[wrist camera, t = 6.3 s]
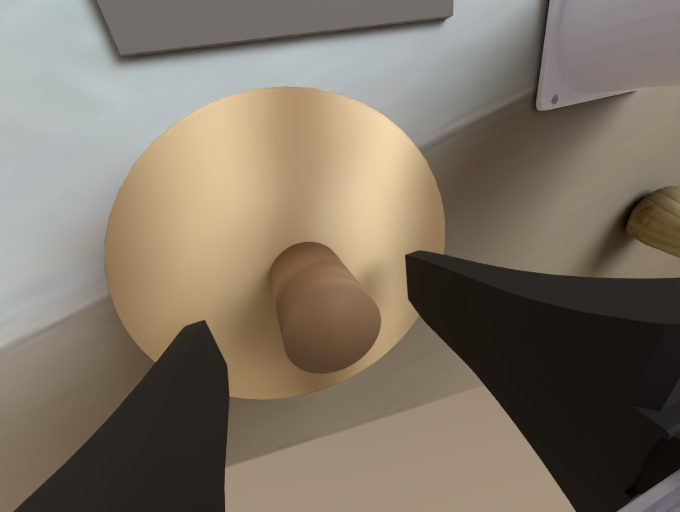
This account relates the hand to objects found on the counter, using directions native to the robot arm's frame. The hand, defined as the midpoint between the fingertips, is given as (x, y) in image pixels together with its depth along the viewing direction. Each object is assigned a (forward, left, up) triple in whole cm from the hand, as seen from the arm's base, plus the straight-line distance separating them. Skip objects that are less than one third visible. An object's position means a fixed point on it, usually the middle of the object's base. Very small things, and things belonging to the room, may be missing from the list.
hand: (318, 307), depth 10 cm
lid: (0, -1, -2) cm, 2 cm away
